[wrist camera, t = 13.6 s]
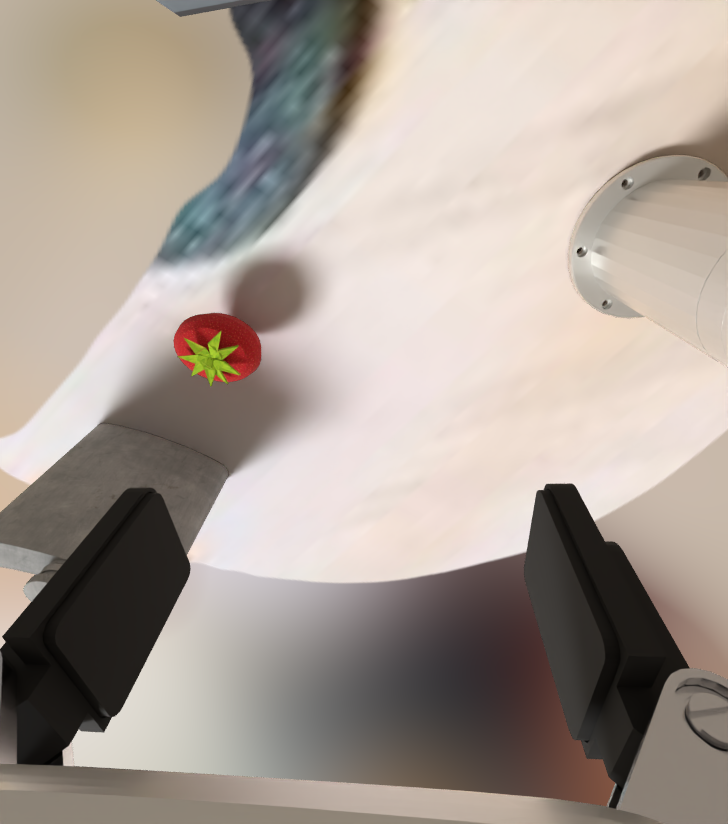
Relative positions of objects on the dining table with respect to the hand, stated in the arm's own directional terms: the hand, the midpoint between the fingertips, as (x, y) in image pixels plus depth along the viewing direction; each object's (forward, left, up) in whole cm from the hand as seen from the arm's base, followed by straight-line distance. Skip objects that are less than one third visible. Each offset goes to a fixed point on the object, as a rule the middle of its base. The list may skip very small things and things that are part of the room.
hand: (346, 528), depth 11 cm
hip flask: (+28, +18, -32) cm, 46 cm away
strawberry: (+15, +4, -32) cm, 36 cm away
